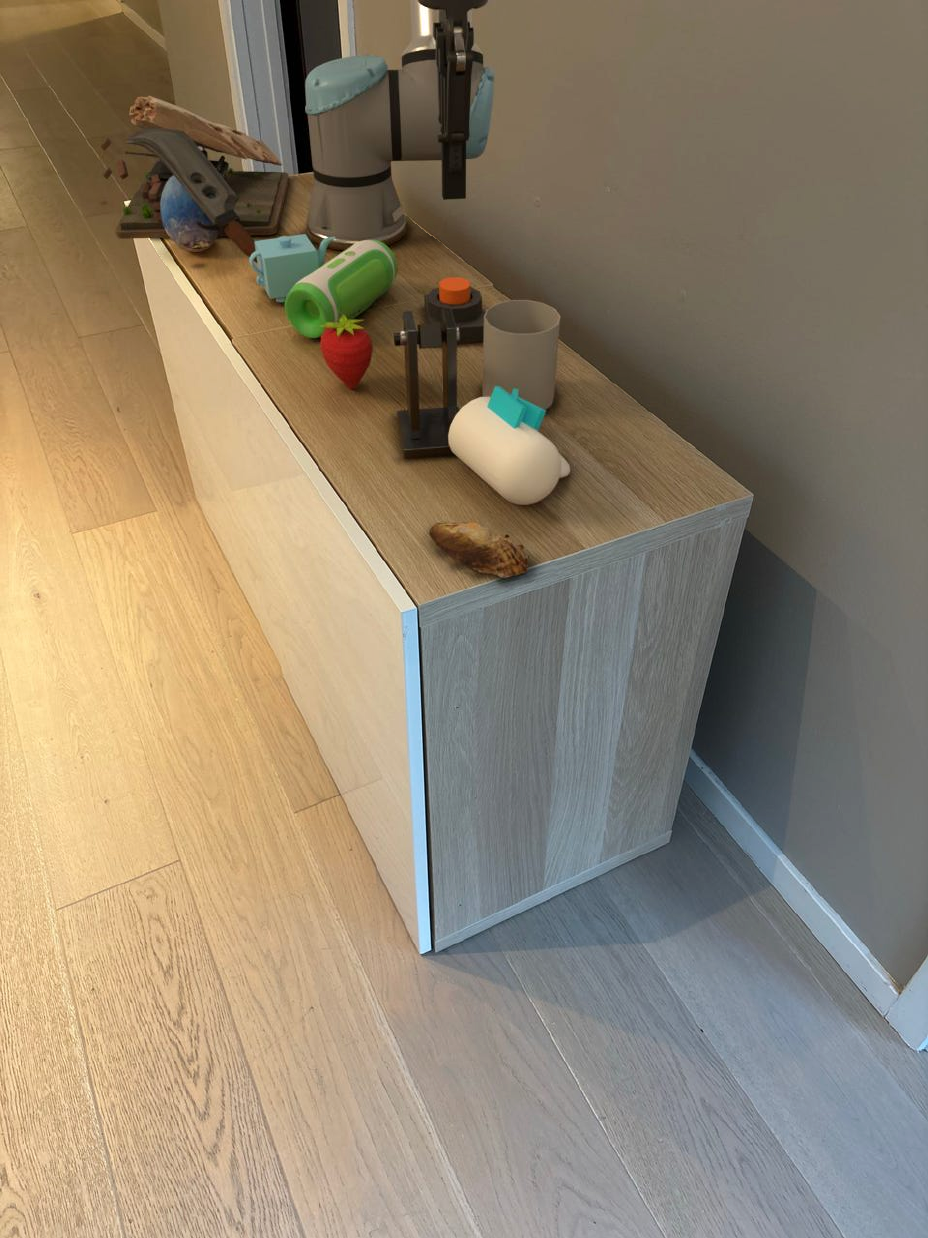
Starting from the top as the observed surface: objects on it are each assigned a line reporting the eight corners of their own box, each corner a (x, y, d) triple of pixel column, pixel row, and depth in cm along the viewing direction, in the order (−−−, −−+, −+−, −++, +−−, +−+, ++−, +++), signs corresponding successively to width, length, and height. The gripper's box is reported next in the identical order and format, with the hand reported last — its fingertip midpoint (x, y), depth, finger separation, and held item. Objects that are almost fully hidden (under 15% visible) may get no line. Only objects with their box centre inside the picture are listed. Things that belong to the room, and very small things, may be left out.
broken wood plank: (267, 173, 164) (273, 142, 163) (307, 185, 157) (314, 153, 155) (114, 121, 144) (119, 86, 142) (151, 133, 137) (157, 96, 135)
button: (437, 293, 121) (437, 277, 120) (467, 291, 122) (468, 276, 120) (441, 306, 118) (441, 291, 117) (472, 304, 119) (472, 289, 117)
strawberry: (333, 408, 108) (324, 327, 101) (319, 377, 113) (309, 297, 106) (382, 399, 109) (377, 318, 102) (366, 369, 114) (360, 290, 107)
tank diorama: (289, 178, 161) (280, 110, 154) (276, 234, 143) (265, 161, 136) (126, 182, 161) (109, 114, 153) (92, 240, 143) (71, 166, 135)
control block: (424, 309, 126) (423, 281, 123) (475, 306, 126) (475, 278, 124) (432, 345, 119) (432, 315, 116) (487, 341, 119) (487, 311, 117)
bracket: (397, 419, 106) (391, 303, 96) (458, 415, 107) (458, 299, 97) (404, 459, 100) (398, 340, 91) (468, 454, 101) (469, 335, 91)
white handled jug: (539, 430, 85) (468, 375, 93) (504, 516, 90) (439, 456, 97) (624, 439, 93) (552, 387, 100) (587, 518, 97) (521, 462, 105)
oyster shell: (476, 492, 91) (542, 547, 86) (469, 523, 93) (532, 579, 88) (427, 504, 88) (492, 562, 82) (421, 536, 90) (484, 595, 85)
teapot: (333, 275, 133) (328, 222, 128) (345, 293, 129) (340, 238, 124) (250, 288, 130) (241, 234, 125) (260, 307, 126) (251, 251, 120)
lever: (394, 350, 107) (393, 328, 107) (446, 347, 108) (445, 325, 107) (402, 349, 94) (400, 324, 93) (461, 346, 94) (459, 321, 94)
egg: (242, 265, 138) (226, 177, 141) (200, 239, 130) (185, 147, 133) (198, 290, 141) (184, 204, 144) (155, 266, 134) (141, 176, 137)
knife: (248, 292, 128) (119, 131, 131) (248, 302, 130) (120, 143, 133) (299, 265, 131) (172, 109, 134) (298, 275, 134) (173, 121, 136)
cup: (548, 419, 106) (554, 338, 99) (477, 411, 107) (478, 330, 100) (557, 382, 112) (564, 303, 105) (490, 375, 113) (492, 296, 106)
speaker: (357, 283, 132) (353, 230, 126) (402, 294, 129) (399, 240, 124) (285, 335, 120) (277, 279, 115) (332, 348, 118) (326, 291, 113)
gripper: (410, -53, 99) (417, 178, 116) (423, -28, 90) (428, 219, 107) (479, -55, 100) (476, 175, 117) (499, -30, 91) (493, 216, 107)
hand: (453, 196), depth 112 cm, fingers closed
